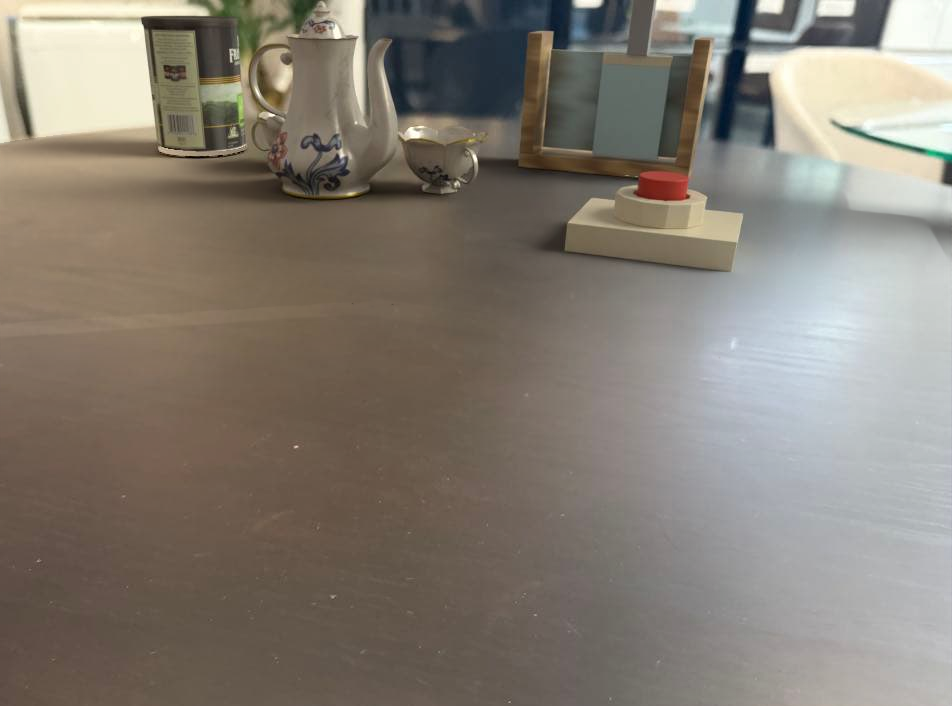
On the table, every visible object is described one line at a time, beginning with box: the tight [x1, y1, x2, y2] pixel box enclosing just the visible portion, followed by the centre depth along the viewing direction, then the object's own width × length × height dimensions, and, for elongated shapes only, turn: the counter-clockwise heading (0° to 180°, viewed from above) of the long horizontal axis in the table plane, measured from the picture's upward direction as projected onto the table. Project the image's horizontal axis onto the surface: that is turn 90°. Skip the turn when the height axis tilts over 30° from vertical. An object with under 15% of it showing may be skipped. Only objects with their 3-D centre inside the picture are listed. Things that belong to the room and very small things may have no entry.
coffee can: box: [140, 15, 247, 158], centre depth 94 cm, size 10×10×14 cm
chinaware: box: [247, 0, 489, 200], centre depth 79 cm, size 28×17×17 cm, turn 63°
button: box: [637, 171, 690, 201], centre depth 63 cm, size 4×4×2 cm
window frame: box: [517, 30, 716, 179], centre depth 88 cm, size 18×5×14 cm, turn 68°
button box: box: [564, 184, 744, 273], centre depth 64 cm, size 12×9×4 cm
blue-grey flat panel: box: [592, 0, 673, 160], centre depth 85 cm, size 7×2×17 cm, turn 68°
